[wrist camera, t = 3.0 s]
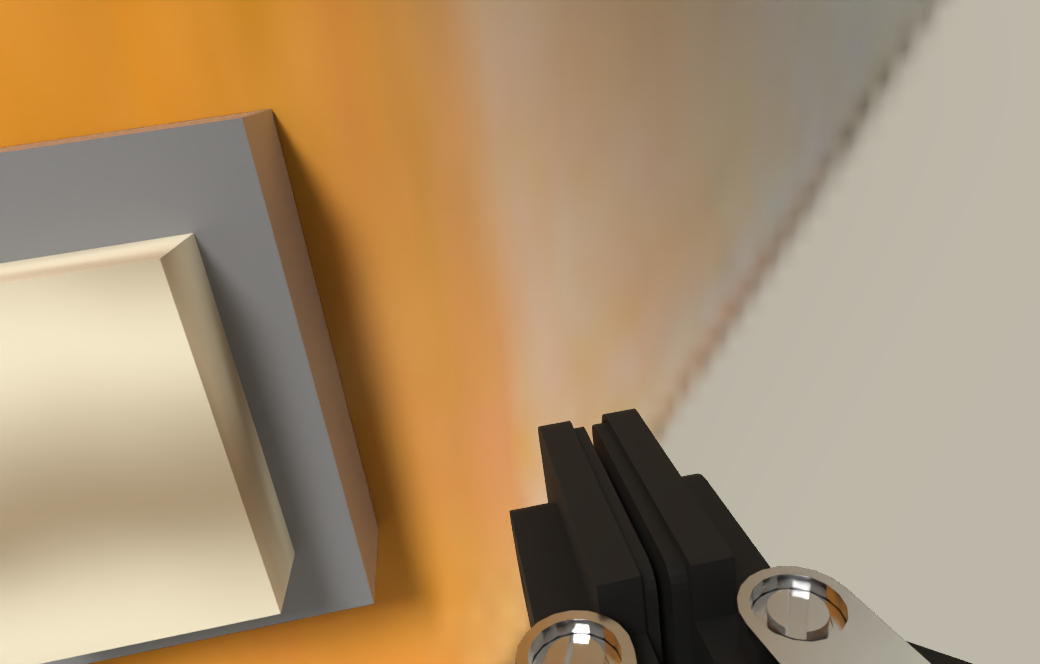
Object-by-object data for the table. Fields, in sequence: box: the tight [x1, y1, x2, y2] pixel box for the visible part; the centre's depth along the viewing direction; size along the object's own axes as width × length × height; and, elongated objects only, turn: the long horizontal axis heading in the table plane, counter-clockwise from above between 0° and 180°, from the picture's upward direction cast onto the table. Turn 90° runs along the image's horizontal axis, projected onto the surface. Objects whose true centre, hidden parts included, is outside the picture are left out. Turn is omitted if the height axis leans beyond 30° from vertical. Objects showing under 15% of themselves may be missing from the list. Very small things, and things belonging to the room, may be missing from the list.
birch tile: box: [0, 233, 295, 664], centre depth 14 cm, size 8×6×2 cm
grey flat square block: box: [0, 109, 379, 664], centre depth 16 cm, size 12×11×3 cm
